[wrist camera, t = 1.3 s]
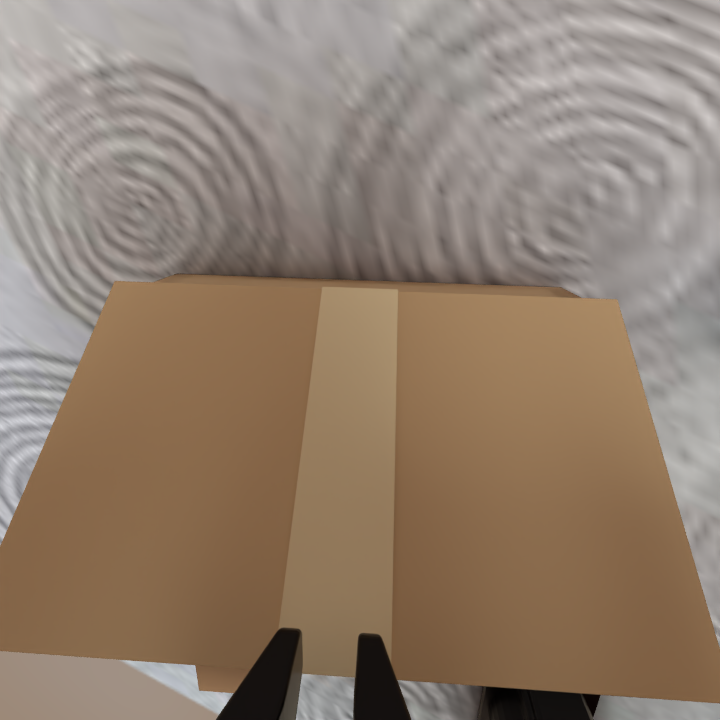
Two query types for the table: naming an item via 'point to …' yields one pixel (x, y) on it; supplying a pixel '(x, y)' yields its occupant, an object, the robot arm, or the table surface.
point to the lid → (361, 493)
